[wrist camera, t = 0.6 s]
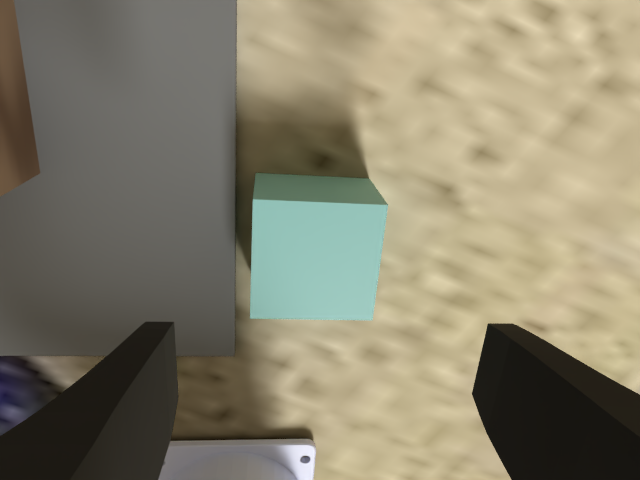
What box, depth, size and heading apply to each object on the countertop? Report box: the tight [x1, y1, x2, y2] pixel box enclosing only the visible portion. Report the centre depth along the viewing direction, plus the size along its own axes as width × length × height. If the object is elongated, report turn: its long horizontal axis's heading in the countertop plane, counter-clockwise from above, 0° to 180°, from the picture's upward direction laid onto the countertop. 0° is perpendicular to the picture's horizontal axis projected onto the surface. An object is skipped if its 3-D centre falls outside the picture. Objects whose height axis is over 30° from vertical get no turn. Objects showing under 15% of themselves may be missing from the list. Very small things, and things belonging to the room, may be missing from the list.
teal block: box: [250, 173, 388, 320], centre depth 18 cm, size 4×4×4 cm
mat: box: [0, 0, 237, 356], centre depth 17 cm, size 18×16×1 cm
